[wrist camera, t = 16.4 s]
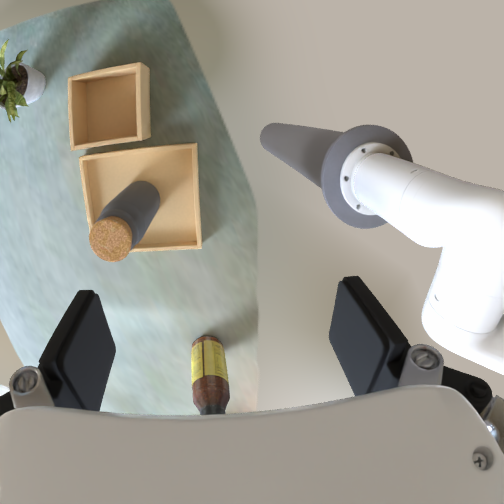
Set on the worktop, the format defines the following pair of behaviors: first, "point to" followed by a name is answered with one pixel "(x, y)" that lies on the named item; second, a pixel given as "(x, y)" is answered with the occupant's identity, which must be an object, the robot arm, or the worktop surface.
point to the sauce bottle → (209, 376)
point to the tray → (158, 174)
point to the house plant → (18, 84)
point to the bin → (109, 106)
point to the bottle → (124, 221)
